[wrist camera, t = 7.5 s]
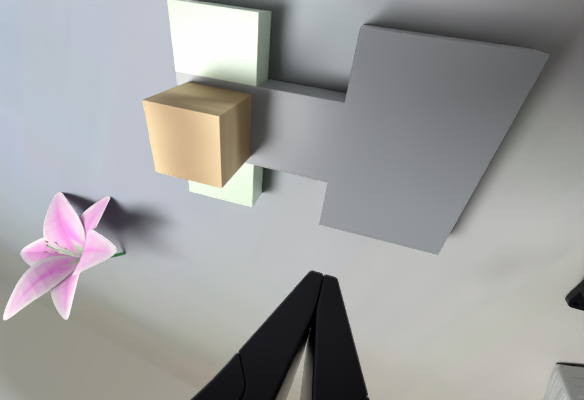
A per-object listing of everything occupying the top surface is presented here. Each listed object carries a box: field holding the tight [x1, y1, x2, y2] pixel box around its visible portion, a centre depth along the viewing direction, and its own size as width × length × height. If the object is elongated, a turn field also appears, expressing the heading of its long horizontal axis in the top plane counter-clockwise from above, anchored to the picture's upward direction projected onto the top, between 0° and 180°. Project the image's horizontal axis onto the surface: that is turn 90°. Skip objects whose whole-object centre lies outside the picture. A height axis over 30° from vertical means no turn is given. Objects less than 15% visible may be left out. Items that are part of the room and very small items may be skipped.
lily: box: [3, 192, 126, 320], centre depth 28 cm, size 12×12×10 cm
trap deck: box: [167, 0, 550, 255], centre depth 18 cm, size 18×12×2 cm, turn 84°
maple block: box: [143, 82, 252, 188], centre depth 17 cm, size 4×4×4 cm
